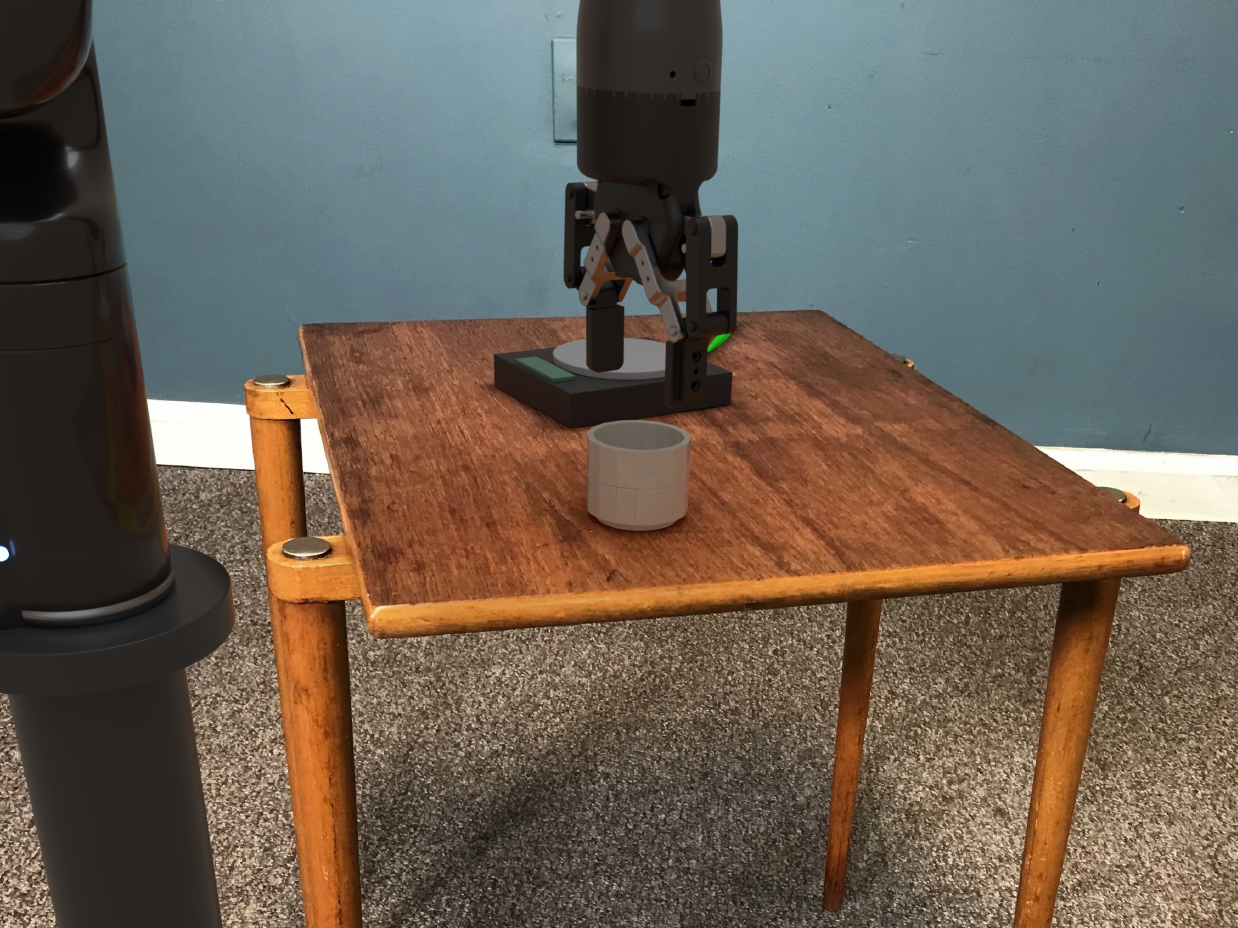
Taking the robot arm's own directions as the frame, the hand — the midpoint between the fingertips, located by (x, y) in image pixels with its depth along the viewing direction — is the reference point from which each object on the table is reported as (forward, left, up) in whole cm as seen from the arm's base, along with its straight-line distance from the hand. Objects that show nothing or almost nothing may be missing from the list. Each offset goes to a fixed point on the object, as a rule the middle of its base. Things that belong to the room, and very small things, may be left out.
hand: (643, 388), depth 78 cm
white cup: (0, 0, -8) cm, 8 cm away
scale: (+12, +23, -8) cm, 27 cm away
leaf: (+30, +34, -8) cm, 46 cm away
